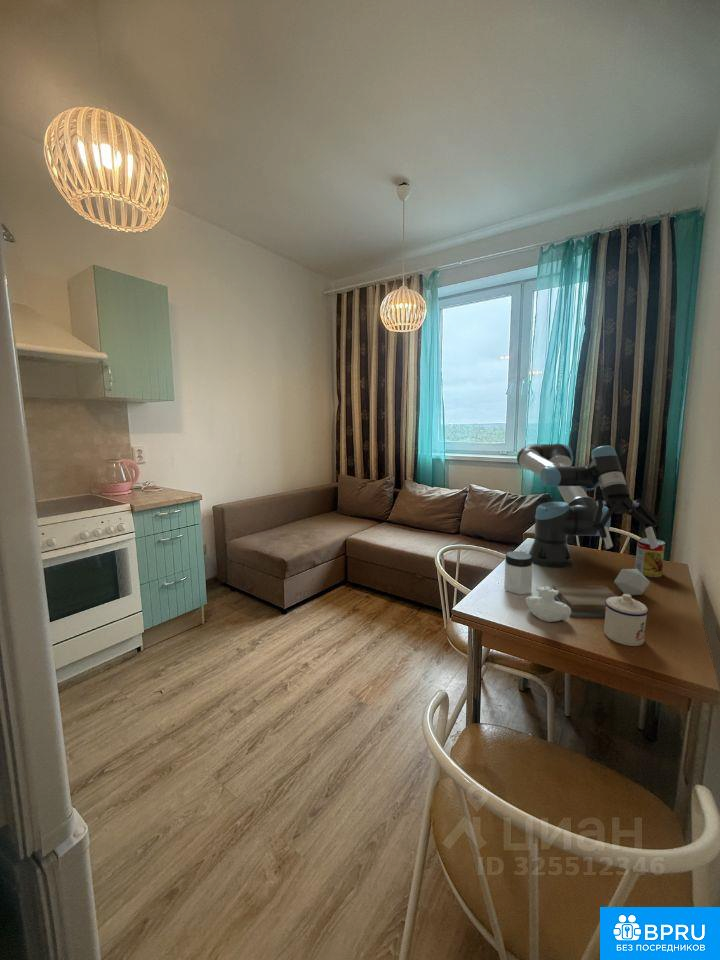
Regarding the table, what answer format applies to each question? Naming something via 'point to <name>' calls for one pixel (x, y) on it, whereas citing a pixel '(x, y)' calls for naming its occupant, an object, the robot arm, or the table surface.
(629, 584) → the die
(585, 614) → the pedestal
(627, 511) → the robot arm
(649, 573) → the canned food
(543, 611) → the bust
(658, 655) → the table surface
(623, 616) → the teacup with lid
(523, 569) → the jar
